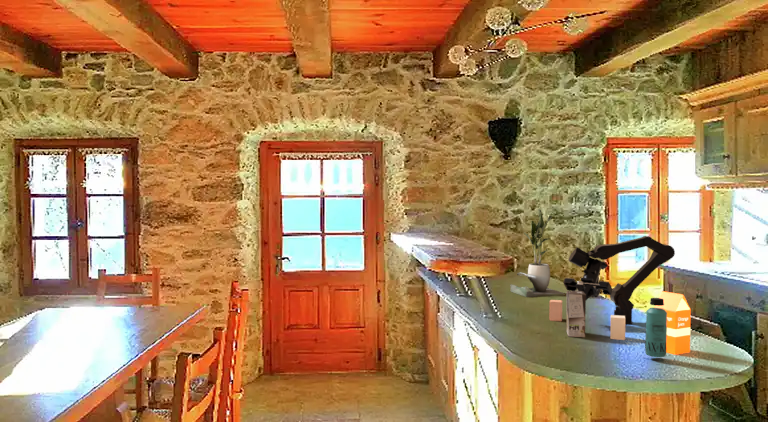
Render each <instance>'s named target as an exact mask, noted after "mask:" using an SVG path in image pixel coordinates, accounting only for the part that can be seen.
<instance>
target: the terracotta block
mask: <svg viewBox="0 0 768 422" xmlns="http://www.w3.org/2000/svg"><path fill="white" fill-rule="evenodd" d="M548 303H549V307H548V308H549V311H548V313H549V315H548V316H549V319H548V320H550V321H551V322H562V321H563V300H559V299H550V300H549V302H548Z"/></svg>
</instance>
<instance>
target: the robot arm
mask: <svg viewBox="0 0 768 422" xmlns="http://www.w3.org/2000/svg"><path fill="white" fill-rule="evenodd" d="M646 247H647V248H648V249H649V250H651V251H652V253H651V254H650V257H649V258H648V260H647V261H646V262H645V263H644V264H643V265H642V266H641V267H640V268H638V270H637V271H636V272H635V273H634V274H633V275H632V276H631V277H630V278H629V279H628V280H626V282H625V283H622V284H621V283H619V282H617V284H616V285H615V286H614V287H612V285H611V283H610V281H605V280H602V281H601V280H600V278H599V276H600V273H601V270H605V269H606V268H607V267H608V264H607V263H606V261H604V260H608V259H610V258H612V257H615V256H617V255H618V254H620V253H621V254H622V253H624V252H628V251H632V250H637V249H640V248H646ZM675 254H676V253H675V249H674V247H673V246H672V245H668V244H665V243H661V242H660V241H657V240H656V239H654V238H652V237H651V236H647V235H643V236H641V237H638V238H637V237H636V238H633V239H629V240H626V241H621V242H617V243H605V244H597V245H596V246H594V248H593V249H591V250H589V251H584V250H582V248H579V247H577V246H576V247H575V249H573V251H572V252H571V254H570V255H569V257H568V262H570V263H571V264H573V265H575V266H577V267H579V268H582V267H585V268H584V269H583V271H582V272H583V275H582V277H580V281H579V280H578V281H576V280H575V278H572V277H565V278H564V279H563V283H562V284H563V285H564V287H565V289H566V291H583V292H584V293H585V294H586V301H587V300H588V299H589V298H591V297H592V298H598V297H599V295H600V294H601V293H602V294H603V295H606V296H607V295H608V296H609V299H610V300H611V302H613V303H614V306H615V309H614V310H613V315H619V316H625V325H626V324H627V325H633V319H632V318H633V308H634V307H635V305H634V303H633V302H632V301H631V300H630V299H631V297H632V295H633V294H634V291H635V290H636V289H637V288H638V286H640V285H641V284H642V283H643V282H644V281H645V280H646V279H647V278H648V277H649V276H650V275H651V274H652V273H653V272H654V271H655V270H656V269H658V267H659V266H661V265H663V264H666V263H668V261H670V260H671V259H673V258H674V257H675ZM602 260H603V261H602ZM601 291H602V292H601Z"/></svg>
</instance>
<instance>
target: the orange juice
mask: <svg viewBox="0 0 768 422" xmlns="http://www.w3.org/2000/svg"><path fill="white" fill-rule="evenodd" d="M658 298H662V299H663V300H664V305H663V306H656V305H654V307H653V308H662V309H664V310H665V311H666V312H667V338H666V348H667V350H666V351H667V353H666V354H671V355H674V356H675V355H682V354H686V353H687V354H688V353H690V352H691V329H692V328H691V311H692V309H691V307H690V305H689V303H688V302H687V301H688V300H687V299H686V297H685V295H684V294H682V293H676V292H670V291H665V290H661V292H660V295H659V297H658Z"/></svg>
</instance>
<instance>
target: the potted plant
mask: <svg viewBox="0 0 768 422" xmlns="http://www.w3.org/2000/svg"><path fill="white" fill-rule="evenodd" d="M537 215H538V222H537V223H536V222H535V221H533V220H531V222H530V234H531V237H530V236H529V233H526V232H524V231H523V234H524V235H525V236H526V237H527V238H528V239H529V241H530V243H531V245H532V249H533V258H534V263H529V264H528V268H527V273H526V272H525V273H524V272H521V271H520V272H517V274H516V275H517V276H525V277H527V279H528V280H529V281H530V283H532V286H533V287H530V288H529V287H528V286H526V285H525V286H518V285H515V284H510V289H509V290H510V292H511V293H514V294H517V295H520V296H521V297H525V298H535V297H536V298H537V297H539V298H540V297H558V296H562V297H563V296H565V292H562V291H559V290H555V289H552V288H548V287H549V284H550V279H551V269H550V264H548V263H542V259H543V255H544V254H545V253H546V252H547V251H548V248H546V249H545V250H543V251H542V247H543V243H544V242H545V241H549V240H551V238H550V237H545V238H544V234H545V230H546V226H547V224H548V223H549V222H550V221H551V220H552V218H553V215H549V216H548V218H547V219H546V222H545V221H544V217H543V214H542V210H541V209H540V208H538V209H537Z"/></svg>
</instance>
